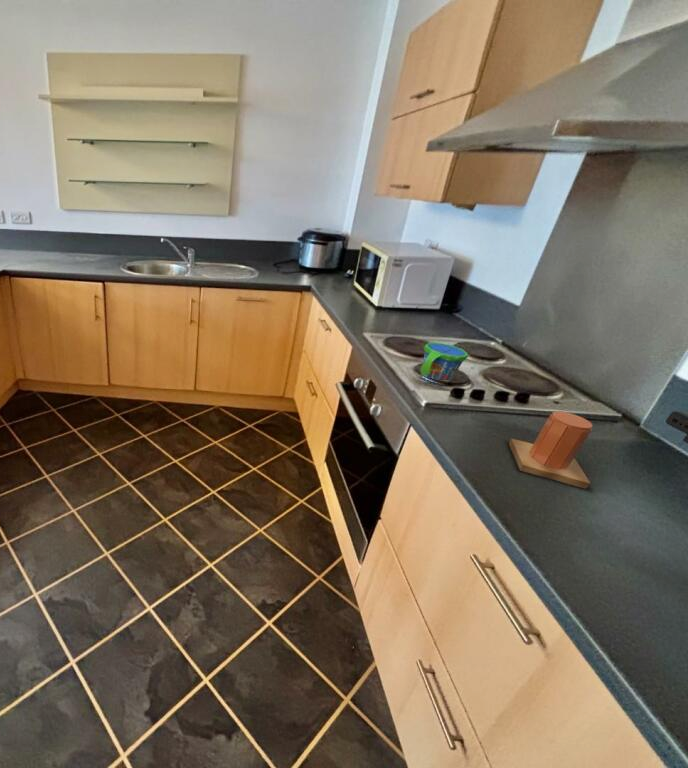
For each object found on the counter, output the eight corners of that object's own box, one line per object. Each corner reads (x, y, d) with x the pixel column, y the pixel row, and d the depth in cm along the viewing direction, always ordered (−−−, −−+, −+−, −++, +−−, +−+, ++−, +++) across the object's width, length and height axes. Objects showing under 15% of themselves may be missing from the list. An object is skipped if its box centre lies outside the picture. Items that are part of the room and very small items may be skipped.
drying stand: (568, 459, 90) (593, 419, 85) (586, 489, 81) (615, 447, 77) (508, 443, 94) (529, 405, 89) (519, 470, 85) (543, 429, 81)
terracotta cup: (561, 456, 88) (586, 416, 84) (571, 472, 83) (597, 431, 79) (526, 447, 91) (548, 408, 86) (534, 462, 86) (557, 421, 81)
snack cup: (435, 370, 129) (447, 339, 125) (467, 385, 121) (482, 353, 116) (400, 376, 123) (411, 344, 119) (432, 392, 115) (446, 359, 110)
